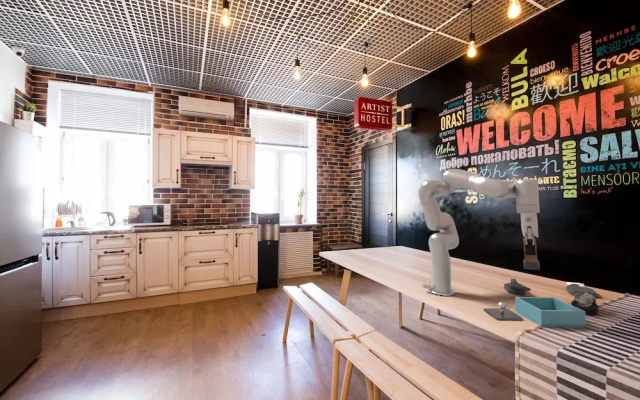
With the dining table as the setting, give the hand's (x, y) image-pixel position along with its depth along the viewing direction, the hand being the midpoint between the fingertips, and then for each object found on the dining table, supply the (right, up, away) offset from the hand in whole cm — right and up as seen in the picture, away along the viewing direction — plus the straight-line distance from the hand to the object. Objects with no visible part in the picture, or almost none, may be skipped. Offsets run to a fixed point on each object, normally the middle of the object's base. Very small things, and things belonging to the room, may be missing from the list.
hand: (530, 253), depth 113 cm
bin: (+6, -26, -2) cm, 27 cm away
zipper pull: (+15, -27, +29) cm, 42 cm away
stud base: (-10, -26, +3) cm, 28 cm away
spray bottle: (+51, -27, +33) cm, 66 cm away
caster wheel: (+28, -26, +5) cm, 39 cm away
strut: (0, -6, 0) cm, 6 cm away
